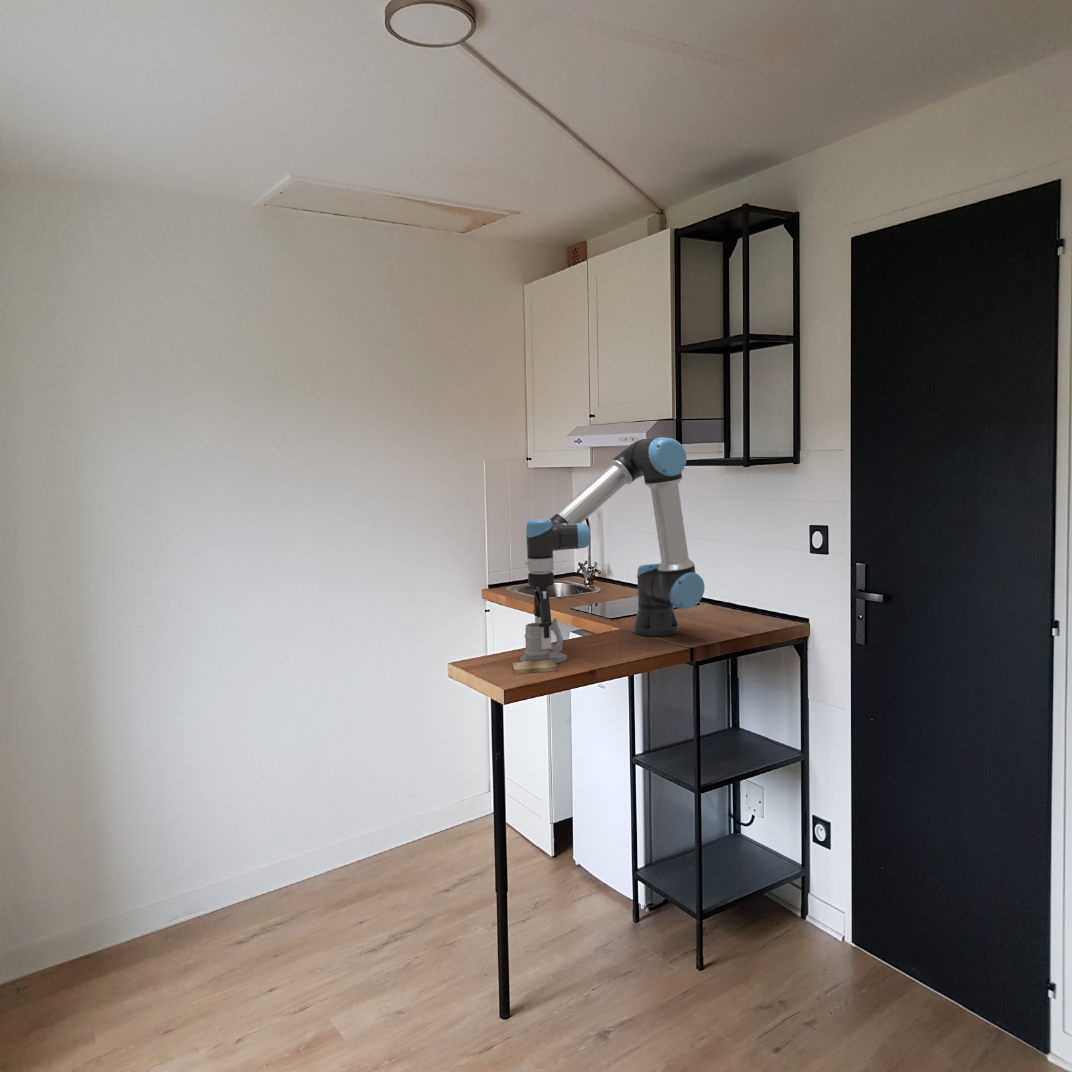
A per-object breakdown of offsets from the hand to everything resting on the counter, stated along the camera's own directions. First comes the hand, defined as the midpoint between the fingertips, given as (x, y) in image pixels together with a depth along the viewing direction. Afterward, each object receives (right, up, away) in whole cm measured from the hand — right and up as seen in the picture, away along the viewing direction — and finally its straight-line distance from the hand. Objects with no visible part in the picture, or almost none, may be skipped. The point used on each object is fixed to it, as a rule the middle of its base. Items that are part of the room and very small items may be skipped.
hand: (543, 643), depth 237 cm
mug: (0, -4, 0) cm, 4 cm away
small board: (-3, -6, -10) cm, 12 cm away
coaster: (0, -5, 0) cm, 5 cm away
